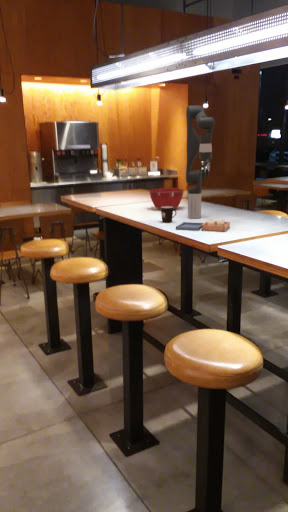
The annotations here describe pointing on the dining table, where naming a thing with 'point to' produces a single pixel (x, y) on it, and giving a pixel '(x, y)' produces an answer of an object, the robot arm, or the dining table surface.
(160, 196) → the mixing bowl
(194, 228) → the parts tray
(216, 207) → the dining table surface
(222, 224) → the pebble
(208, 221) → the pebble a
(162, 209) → the coffee mug
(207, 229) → the wooden tray
